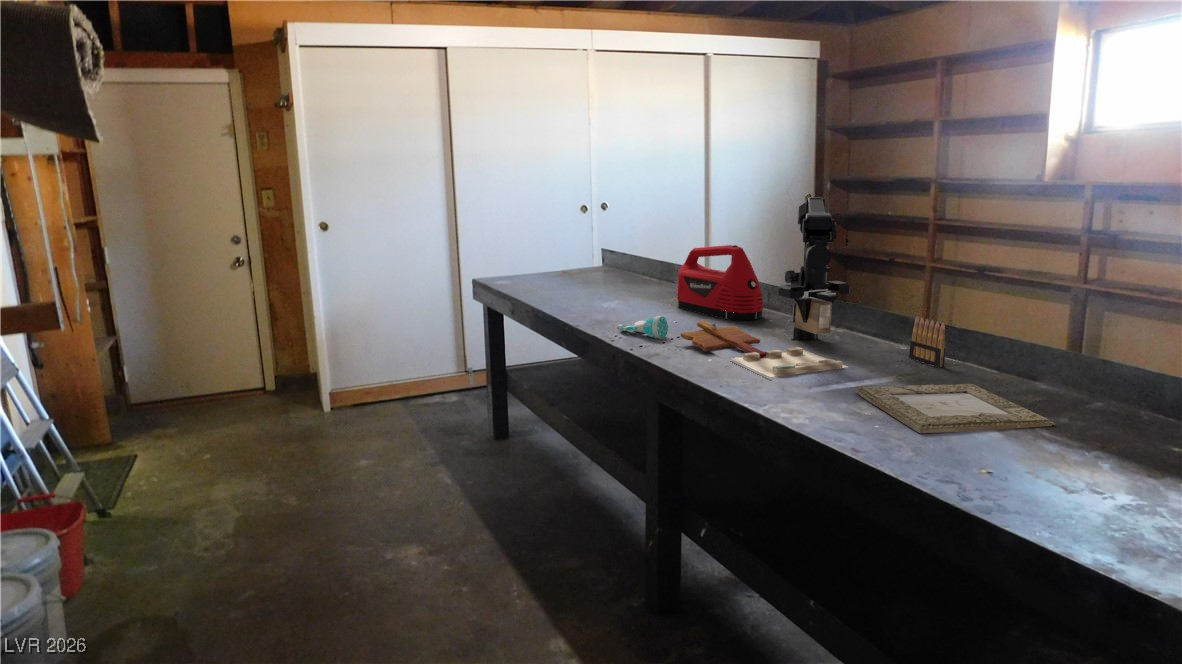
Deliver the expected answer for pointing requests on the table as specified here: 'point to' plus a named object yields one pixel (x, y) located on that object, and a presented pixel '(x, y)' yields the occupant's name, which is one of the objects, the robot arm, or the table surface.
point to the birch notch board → (787, 362)
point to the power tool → (720, 285)
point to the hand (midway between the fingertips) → (812, 321)
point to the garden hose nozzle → (649, 327)
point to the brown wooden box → (815, 317)
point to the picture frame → (950, 408)
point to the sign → (722, 338)
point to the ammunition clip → (928, 343)
